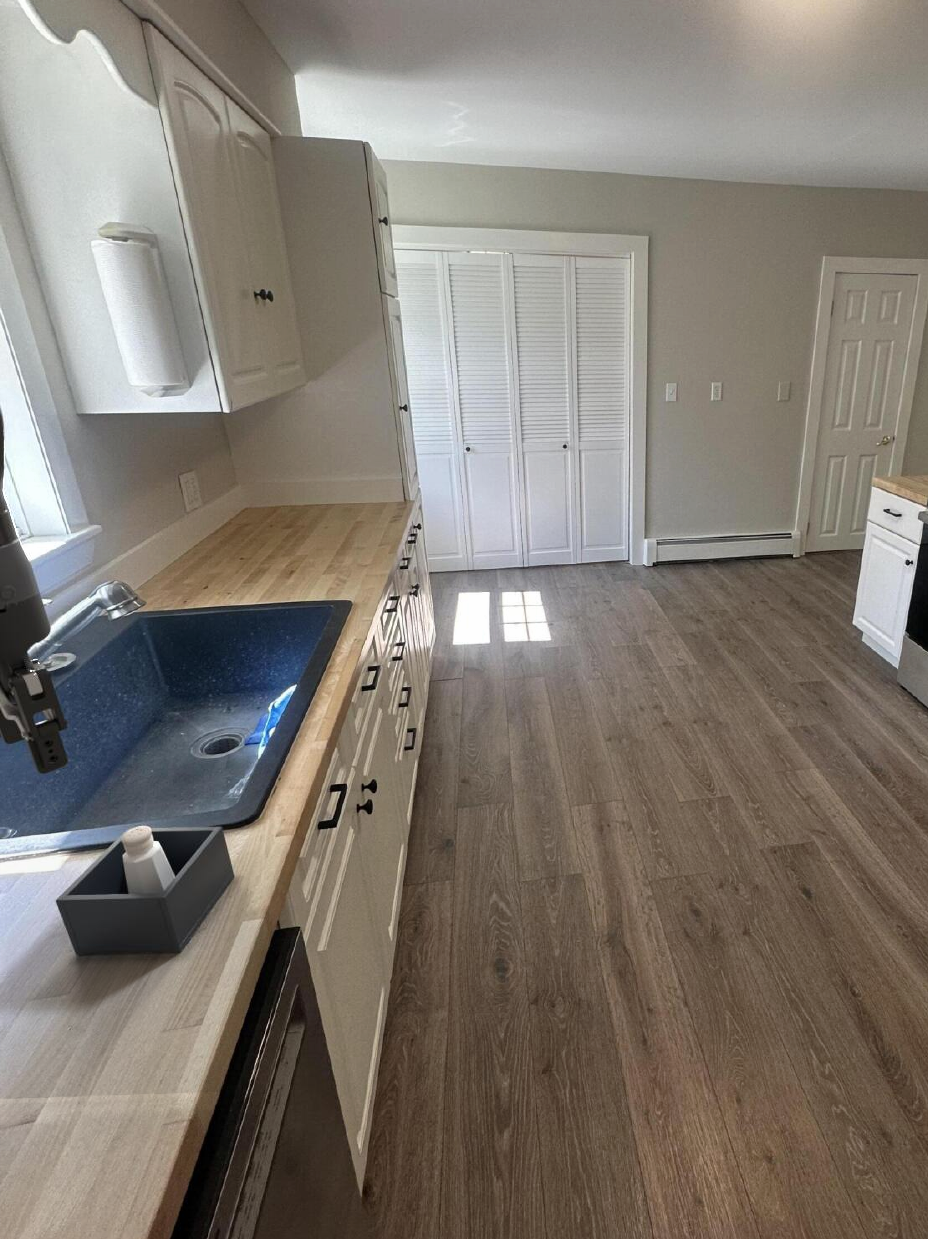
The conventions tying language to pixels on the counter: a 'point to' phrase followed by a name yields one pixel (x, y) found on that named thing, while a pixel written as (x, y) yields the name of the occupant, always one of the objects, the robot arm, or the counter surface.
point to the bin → (147, 896)
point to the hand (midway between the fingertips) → (35, 753)
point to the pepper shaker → (145, 862)
